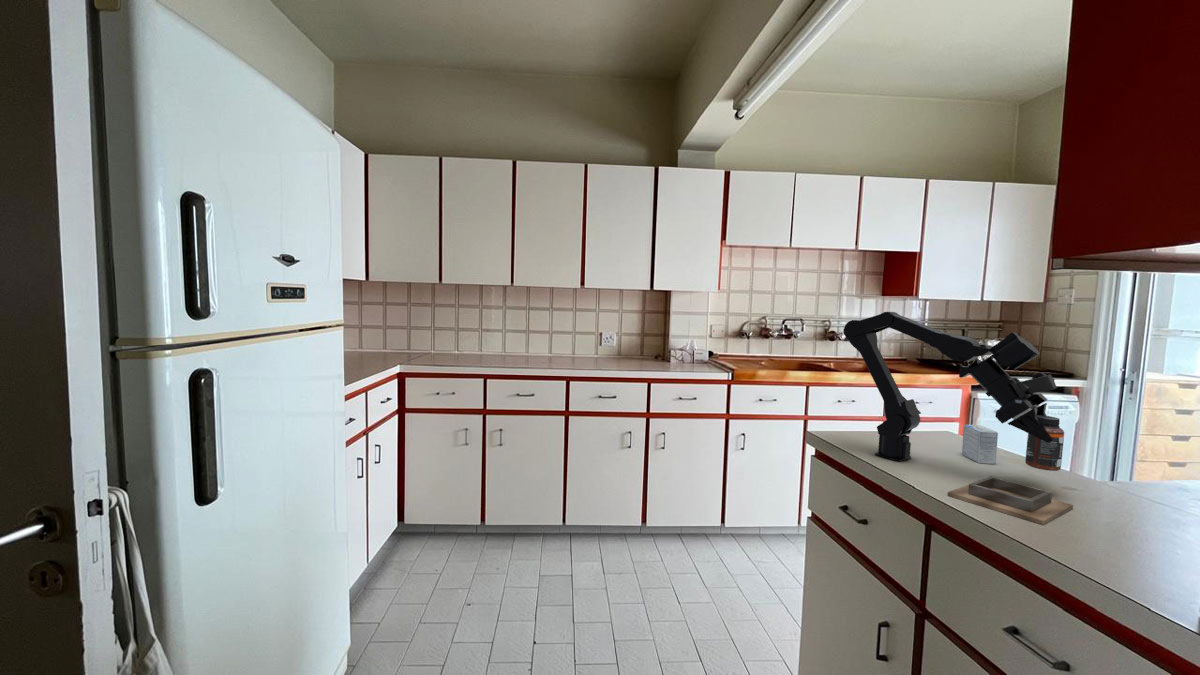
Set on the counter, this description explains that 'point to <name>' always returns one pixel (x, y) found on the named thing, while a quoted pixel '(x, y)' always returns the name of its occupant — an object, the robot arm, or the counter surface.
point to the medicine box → (980, 444)
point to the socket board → (1012, 499)
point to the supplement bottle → (1046, 446)
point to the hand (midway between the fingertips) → (1053, 439)
